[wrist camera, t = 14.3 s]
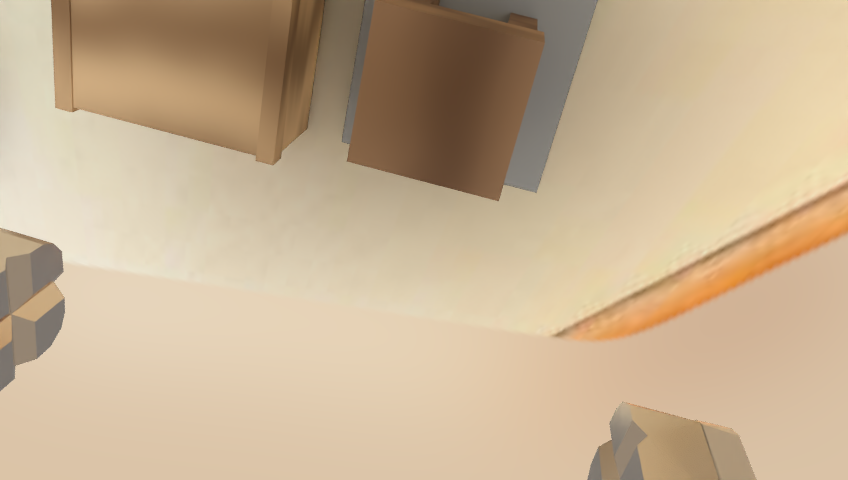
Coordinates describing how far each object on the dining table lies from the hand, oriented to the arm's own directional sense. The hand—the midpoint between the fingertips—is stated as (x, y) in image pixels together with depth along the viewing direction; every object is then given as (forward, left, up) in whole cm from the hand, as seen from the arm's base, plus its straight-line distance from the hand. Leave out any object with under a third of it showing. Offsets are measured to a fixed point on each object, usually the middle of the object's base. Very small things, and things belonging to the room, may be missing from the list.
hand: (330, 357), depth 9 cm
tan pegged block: (+1, 0, -24) cm, 24 cm away
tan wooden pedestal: (+1, -12, -24) cm, 27 cm away
